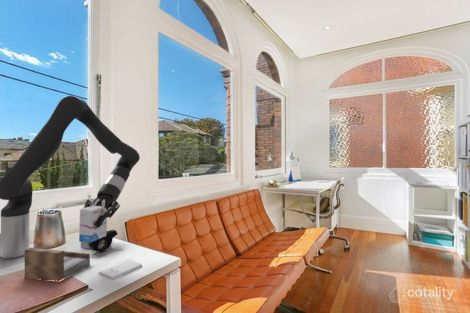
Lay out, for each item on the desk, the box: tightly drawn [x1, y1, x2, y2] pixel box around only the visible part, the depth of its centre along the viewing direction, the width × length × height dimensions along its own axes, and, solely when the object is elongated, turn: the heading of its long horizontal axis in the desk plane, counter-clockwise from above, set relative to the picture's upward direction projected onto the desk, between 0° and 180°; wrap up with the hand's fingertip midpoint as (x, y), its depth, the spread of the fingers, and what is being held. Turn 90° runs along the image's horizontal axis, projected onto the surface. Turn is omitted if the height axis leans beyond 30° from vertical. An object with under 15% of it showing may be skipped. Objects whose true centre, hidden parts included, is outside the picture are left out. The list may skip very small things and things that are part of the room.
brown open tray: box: [24, 247, 91, 281], centre depth 94 cm, size 14×14×10 cm
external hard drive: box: [98, 259, 143, 281], centre depth 96 cm, size 2×8×12 cm
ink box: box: [78, 206, 108, 243], centre depth 95 cm, size 9×5×12 cm, turn 169°
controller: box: [89, 229, 118, 253], centre depth 114 cm, size 4×12×10 cm, turn 149°
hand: (90, 225), depth 93 cm, fingers closed on ink box, 5 cm apart
